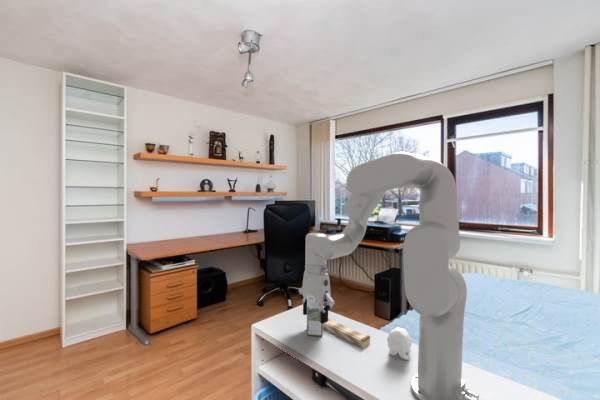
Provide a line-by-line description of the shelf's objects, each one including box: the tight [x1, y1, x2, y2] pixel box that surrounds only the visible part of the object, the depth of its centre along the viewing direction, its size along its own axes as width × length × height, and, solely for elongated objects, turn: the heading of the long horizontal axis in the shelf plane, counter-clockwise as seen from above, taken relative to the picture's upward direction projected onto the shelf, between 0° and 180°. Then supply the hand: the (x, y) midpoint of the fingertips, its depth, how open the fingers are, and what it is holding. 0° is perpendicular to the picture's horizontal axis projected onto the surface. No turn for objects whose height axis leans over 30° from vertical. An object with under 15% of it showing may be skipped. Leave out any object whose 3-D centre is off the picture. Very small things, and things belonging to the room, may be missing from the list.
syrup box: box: [306, 292, 324, 337], centre depth 96 cm, size 6×6×14 cm
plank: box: [323, 317, 371, 349], centre depth 97 cm, size 22×4×2 cm, turn 42°
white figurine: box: [386, 326, 412, 361], centre depth 85 cm, size 6×8×12 cm
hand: (315, 317), depth 96 cm, fingers closed on syrup box, 8 cm apart
